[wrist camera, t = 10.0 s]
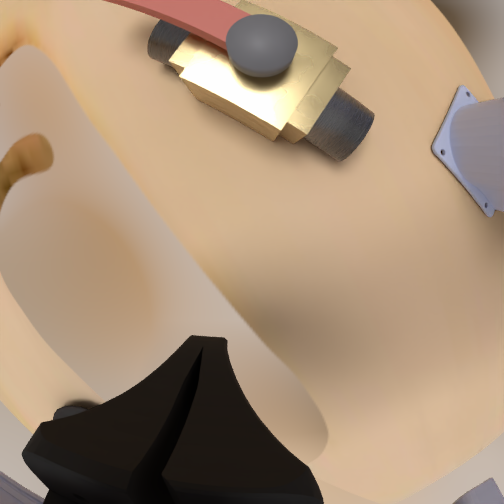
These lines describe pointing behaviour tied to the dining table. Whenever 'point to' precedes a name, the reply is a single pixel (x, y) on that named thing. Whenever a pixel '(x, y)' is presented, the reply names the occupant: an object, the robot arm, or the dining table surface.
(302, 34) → the valve fixture
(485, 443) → the dining table surface
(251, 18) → the lever
